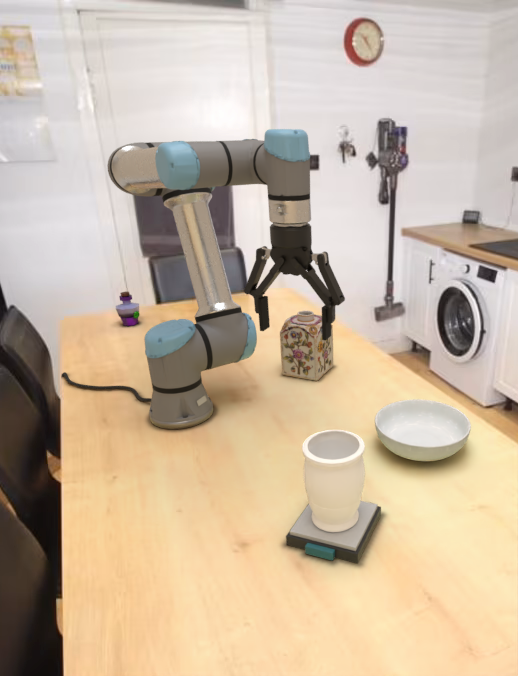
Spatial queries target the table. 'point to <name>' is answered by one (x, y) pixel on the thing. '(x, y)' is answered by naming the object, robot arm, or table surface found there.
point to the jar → (334, 478)
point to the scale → (335, 535)
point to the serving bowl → (422, 429)
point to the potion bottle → (128, 310)
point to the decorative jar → (305, 347)
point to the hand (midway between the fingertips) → (295, 333)
